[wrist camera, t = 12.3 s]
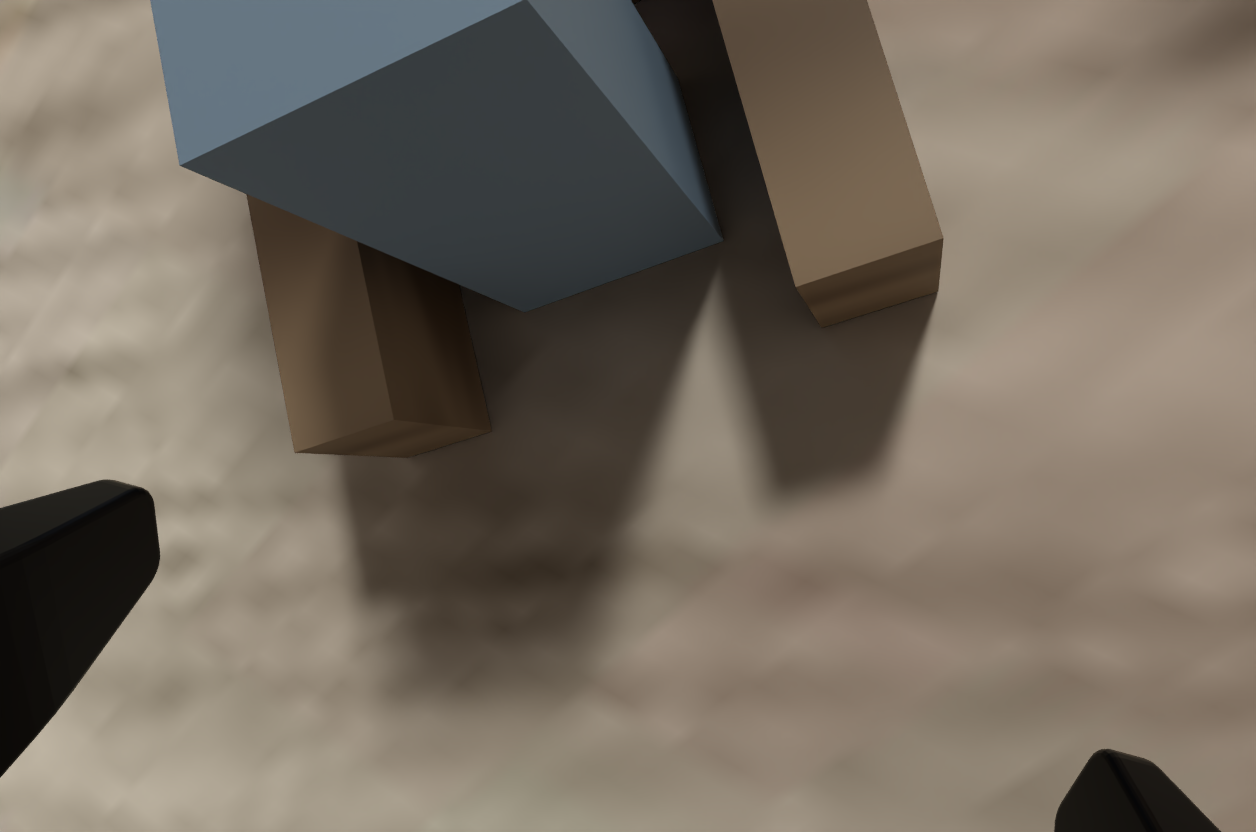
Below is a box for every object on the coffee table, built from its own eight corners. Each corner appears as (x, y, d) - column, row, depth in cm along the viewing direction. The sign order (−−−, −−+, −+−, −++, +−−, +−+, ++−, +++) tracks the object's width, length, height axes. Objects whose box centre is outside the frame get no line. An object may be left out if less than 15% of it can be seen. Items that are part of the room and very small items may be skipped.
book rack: (937, 291, 17) (943, 237, 13) (407, 457, 21) (294, 452, 17) (799, -145, 19) (769, -302, 15) (329, 82, 23) (211, 3, 19)
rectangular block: (723, 241, 19) (526, -2, 9) (524, 312, 20) (179, 165, 11) (677, 79, 19) (449, -303, 10) (488, 159, 21) (132, -106, 11)
